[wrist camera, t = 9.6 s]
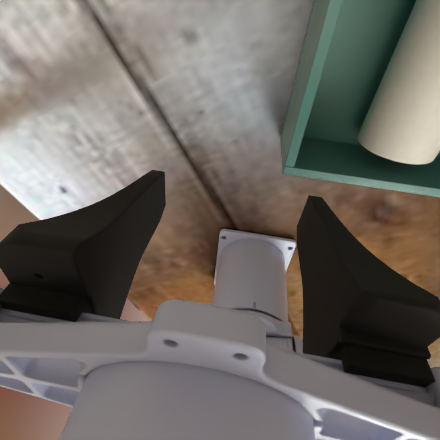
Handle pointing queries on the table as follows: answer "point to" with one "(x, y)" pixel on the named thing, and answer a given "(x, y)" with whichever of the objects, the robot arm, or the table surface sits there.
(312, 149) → the open storage box
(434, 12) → the paper roll
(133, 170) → the table surface
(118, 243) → the robot arm
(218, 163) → the table surface
